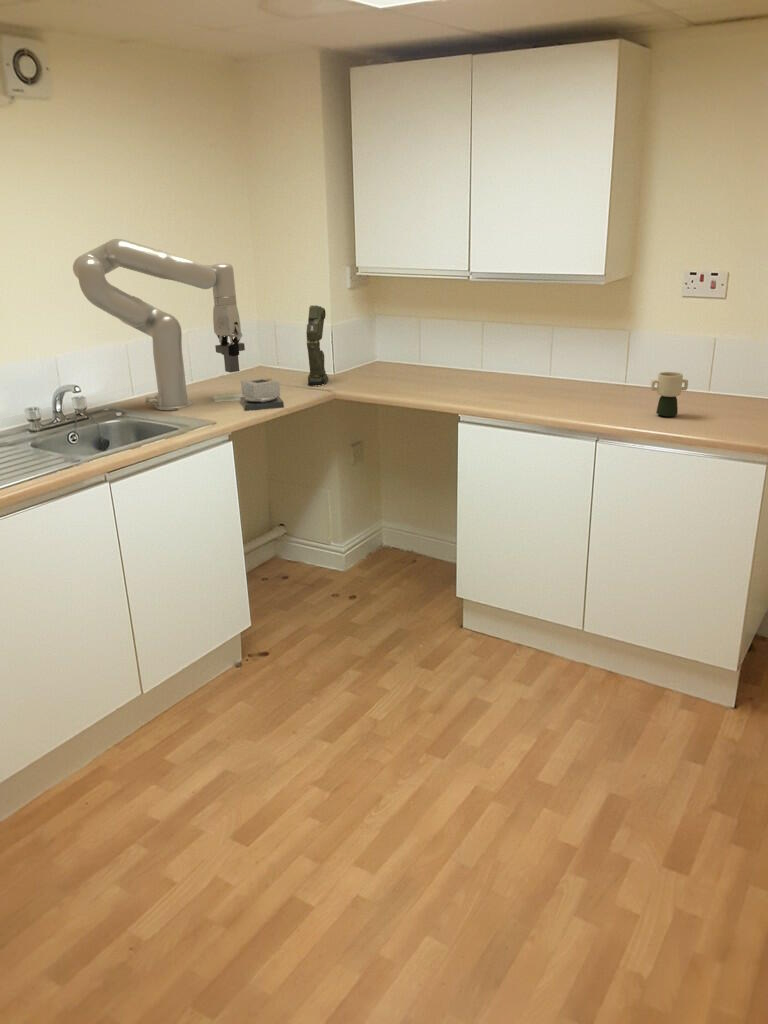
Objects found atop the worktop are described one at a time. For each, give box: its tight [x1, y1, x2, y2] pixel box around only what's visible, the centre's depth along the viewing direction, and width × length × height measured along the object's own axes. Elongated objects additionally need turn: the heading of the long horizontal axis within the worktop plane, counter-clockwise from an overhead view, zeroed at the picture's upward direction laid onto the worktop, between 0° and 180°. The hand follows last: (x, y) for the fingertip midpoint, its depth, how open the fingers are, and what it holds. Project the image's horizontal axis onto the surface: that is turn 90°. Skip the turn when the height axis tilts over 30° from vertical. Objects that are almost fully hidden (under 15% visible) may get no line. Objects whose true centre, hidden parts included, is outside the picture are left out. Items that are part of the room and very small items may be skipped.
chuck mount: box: [239, 396, 285, 412], centre depth 284 cm, size 13×13×2 cm
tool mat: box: [212, 393, 245, 403], centre depth 295 cm, size 12×10×1 cm
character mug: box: [650, 371, 689, 417], centre depth 253 cm, size 11×7×13 cm, turn 87°
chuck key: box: [214, 341, 246, 374], centre depth 290 cm, size 9×4×9 cm, turn 130°
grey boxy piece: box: [240, 377, 281, 402], centre depth 283 cm, size 11×11×6 cm
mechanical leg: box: [305, 305, 329, 386], centre depth 314 cm, size 14×7×30 cm, turn 168°
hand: (230, 354), depth 290 cm, fingers closed on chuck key, 4 cm apart
